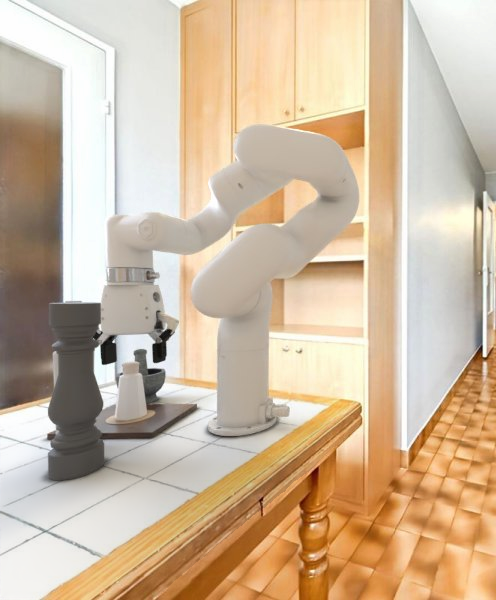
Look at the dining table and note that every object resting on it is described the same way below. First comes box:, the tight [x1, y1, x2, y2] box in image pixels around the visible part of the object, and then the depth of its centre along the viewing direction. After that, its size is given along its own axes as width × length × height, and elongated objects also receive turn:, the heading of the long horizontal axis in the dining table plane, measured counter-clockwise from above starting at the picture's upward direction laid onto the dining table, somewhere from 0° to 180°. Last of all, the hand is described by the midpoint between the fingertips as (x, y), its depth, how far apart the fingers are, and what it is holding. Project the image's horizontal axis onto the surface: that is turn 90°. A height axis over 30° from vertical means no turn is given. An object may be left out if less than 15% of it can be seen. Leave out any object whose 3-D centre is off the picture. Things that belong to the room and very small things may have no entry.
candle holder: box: [47, 301, 105, 481], centre depth 52 cm, size 6×6×25 cm
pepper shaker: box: [115, 361, 147, 421], centre depth 71 cm, size 5×5×11 cm
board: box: [46, 403, 198, 440], centre depth 71 cm, size 18×16×1 cm
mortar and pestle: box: [115, 348, 167, 404], centre depth 84 cm, size 11×9×12 cm
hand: (134, 362), depth 70 cm, fingers open, 9 cm apart
